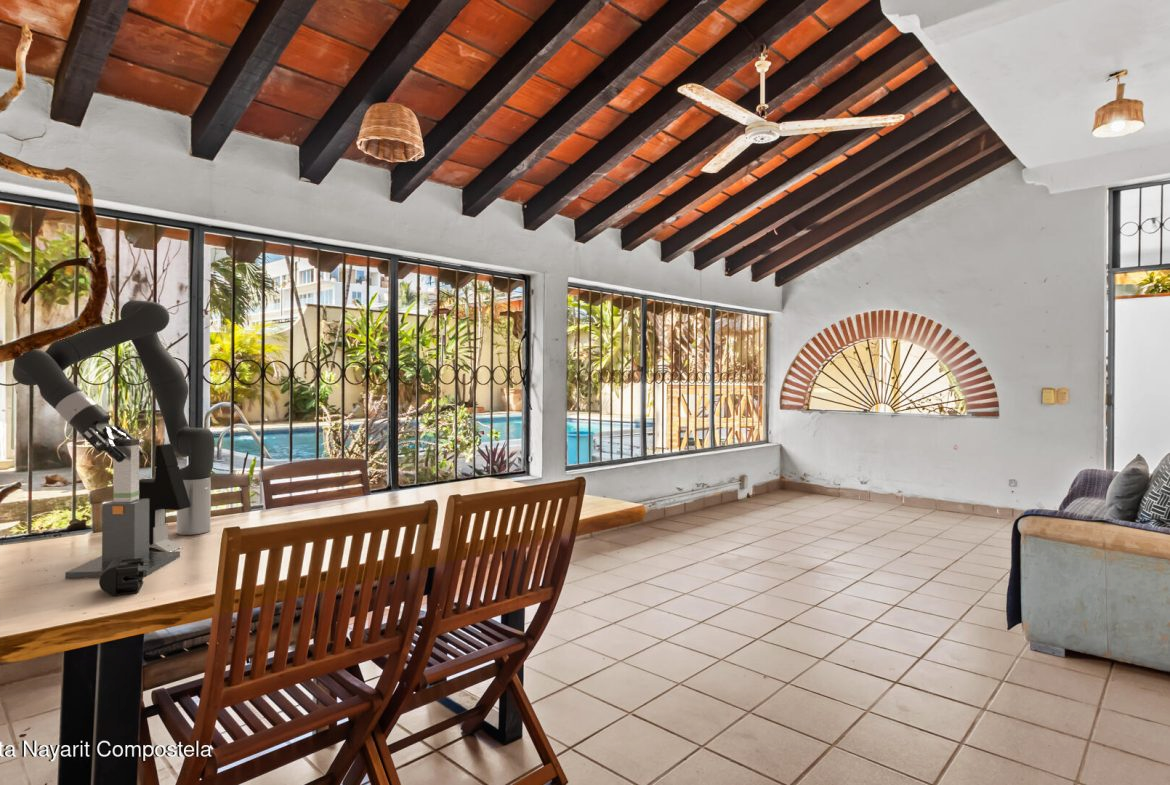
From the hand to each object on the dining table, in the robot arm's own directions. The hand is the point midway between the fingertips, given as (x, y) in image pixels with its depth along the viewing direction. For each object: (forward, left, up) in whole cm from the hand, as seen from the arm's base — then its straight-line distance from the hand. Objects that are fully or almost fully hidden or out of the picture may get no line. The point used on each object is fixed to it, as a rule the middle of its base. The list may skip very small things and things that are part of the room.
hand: (132, 458), depth 167 cm
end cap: (+20, +8, -28) cm, 36 cm away
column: (0, -1, -20) cm, 20 cm away
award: (-18, -1, -28) cm, 34 cm away
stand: (0, -1, -28) cm, 28 cm away
